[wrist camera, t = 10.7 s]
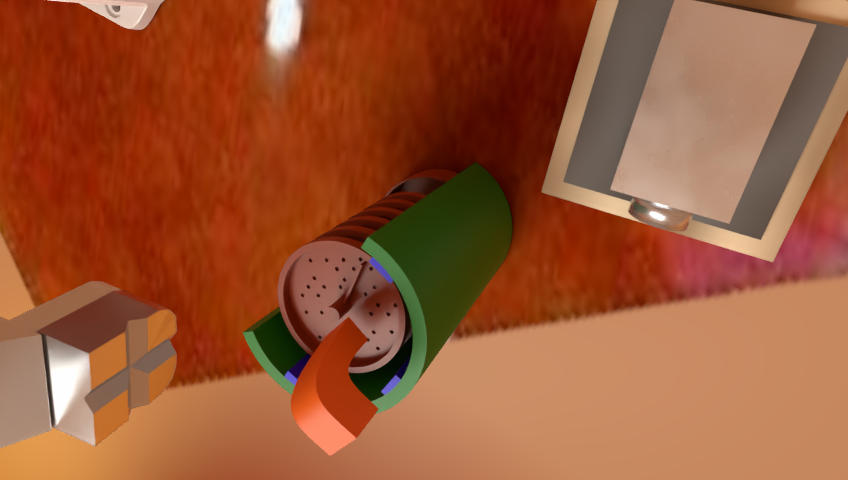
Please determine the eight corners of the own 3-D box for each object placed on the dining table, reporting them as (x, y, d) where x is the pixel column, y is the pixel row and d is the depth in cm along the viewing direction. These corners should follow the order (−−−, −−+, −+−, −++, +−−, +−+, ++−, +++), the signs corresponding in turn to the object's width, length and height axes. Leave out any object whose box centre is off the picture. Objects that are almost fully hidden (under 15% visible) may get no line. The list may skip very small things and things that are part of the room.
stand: (555, 171, 37) (540, 193, 32) (617, -37, 32) (609, -46, 27) (758, 230, 34) (773, 264, 29) (861, 11, 29) (899, 9, 24)
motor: (438, 130, 39) (254, 222, 21) (544, 217, 38) (443, 385, 21) (362, 237, 44) (162, 383, 26) (455, 316, 43) (312, 519, 26)
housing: (673, 0, 27) (675, -3, 23) (791, 23, 26) (816, 24, 21) (609, 189, 31) (600, 218, 27) (708, 218, 30) (716, 253, 25)
